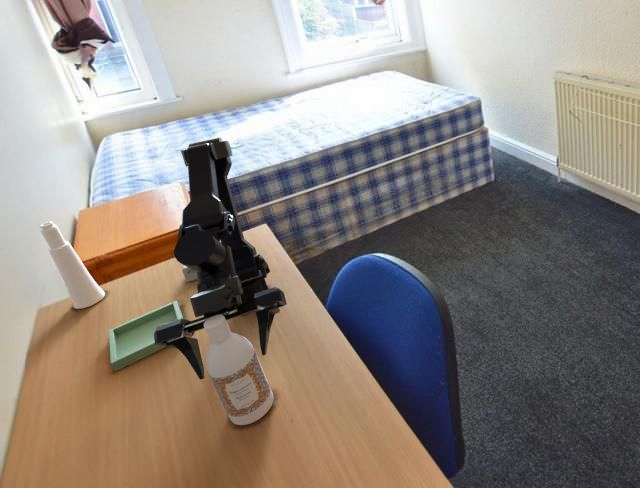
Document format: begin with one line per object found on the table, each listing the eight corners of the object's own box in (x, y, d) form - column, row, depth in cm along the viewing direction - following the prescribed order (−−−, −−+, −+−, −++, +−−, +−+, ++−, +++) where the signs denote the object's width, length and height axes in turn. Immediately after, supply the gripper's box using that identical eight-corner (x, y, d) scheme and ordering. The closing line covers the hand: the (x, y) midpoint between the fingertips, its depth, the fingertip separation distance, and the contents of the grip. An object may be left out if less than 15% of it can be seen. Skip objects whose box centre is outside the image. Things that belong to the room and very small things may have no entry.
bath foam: (232, 435, 77) (188, 345, 69) (229, 405, 83) (188, 318, 75) (277, 411, 81) (240, 323, 73) (271, 384, 86) (236, 299, 78)
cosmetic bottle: (73, 313, 110) (26, 234, 101) (74, 300, 114) (30, 224, 106) (105, 300, 113) (62, 223, 105) (105, 288, 118) (64, 213, 109)
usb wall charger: (187, 282, 117) (181, 269, 116) (191, 267, 123) (185, 254, 122) (205, 276, 119) (199, 263, 117) (208, 262, 125) (203, 249, 123)
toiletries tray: (179, 307, 109) (176, 300, 108) (188, 336, 100) (184, 328, 99) (112, 337, 101) (108, 330, 100) (115, 371, 92) (110, 363, 91)
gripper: (132, 288, 72) (146, 393, 67) (265, 248, 79) (286, 340, 74) (161, 299, 81) (175, 391, 76) (277, 262, 88) (296, 344, 84)
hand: (233, 366), depth 77 cm, fingers open, 9 cm apart
